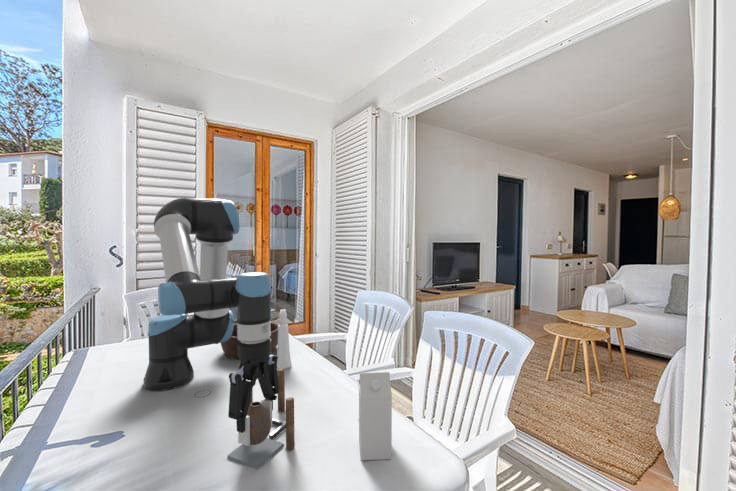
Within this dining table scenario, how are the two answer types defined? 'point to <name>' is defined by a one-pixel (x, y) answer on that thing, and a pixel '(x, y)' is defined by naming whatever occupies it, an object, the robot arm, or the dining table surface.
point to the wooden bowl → (231, 344)
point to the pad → (255, 453)
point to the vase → (258, 423)
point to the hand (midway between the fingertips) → (256, 434)
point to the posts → (281, 407)
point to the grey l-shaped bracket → (281, 427)
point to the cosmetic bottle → (283, 342)
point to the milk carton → (375, 416)
